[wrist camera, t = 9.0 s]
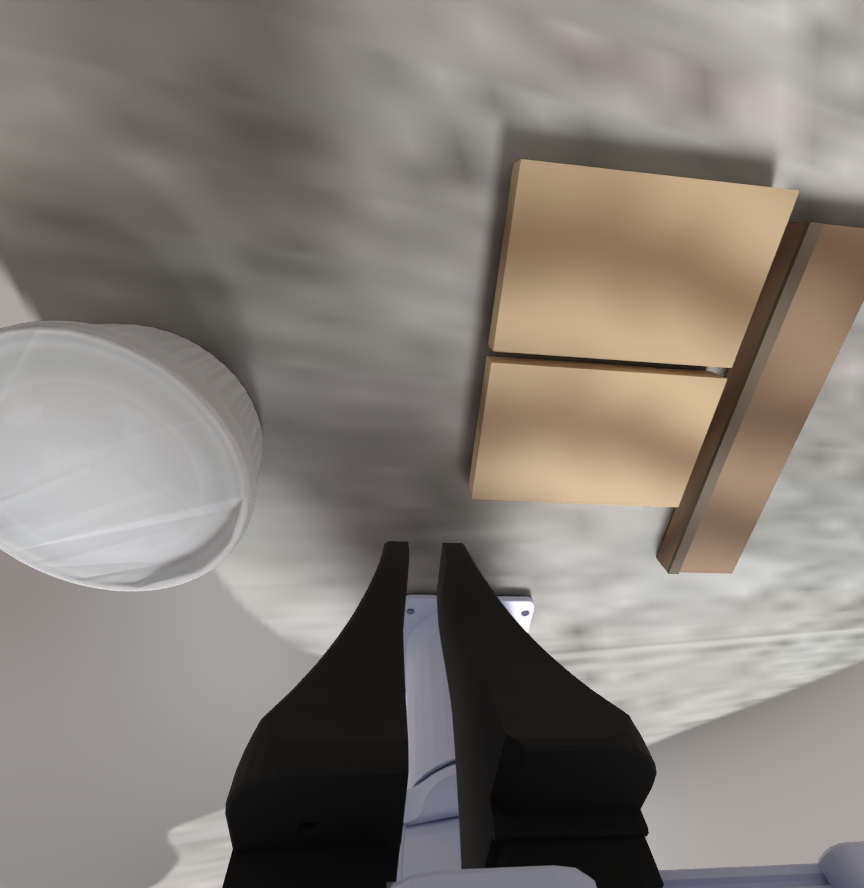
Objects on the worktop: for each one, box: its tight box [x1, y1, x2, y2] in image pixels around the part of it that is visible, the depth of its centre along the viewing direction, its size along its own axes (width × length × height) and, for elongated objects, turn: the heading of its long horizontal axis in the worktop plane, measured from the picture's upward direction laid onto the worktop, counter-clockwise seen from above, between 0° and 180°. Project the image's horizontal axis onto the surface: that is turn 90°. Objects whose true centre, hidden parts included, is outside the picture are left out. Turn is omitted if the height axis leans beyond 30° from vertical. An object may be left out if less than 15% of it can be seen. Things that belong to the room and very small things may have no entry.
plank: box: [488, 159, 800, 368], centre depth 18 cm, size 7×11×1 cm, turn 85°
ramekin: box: [0, 320, 263, 591], centre depth 19 cm, size 11×11×5 cm
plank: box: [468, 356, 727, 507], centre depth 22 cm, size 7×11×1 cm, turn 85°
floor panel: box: [657, 222, 864, 574], centre depth 22 cm, size 18×4×1 cm, turn 175°
